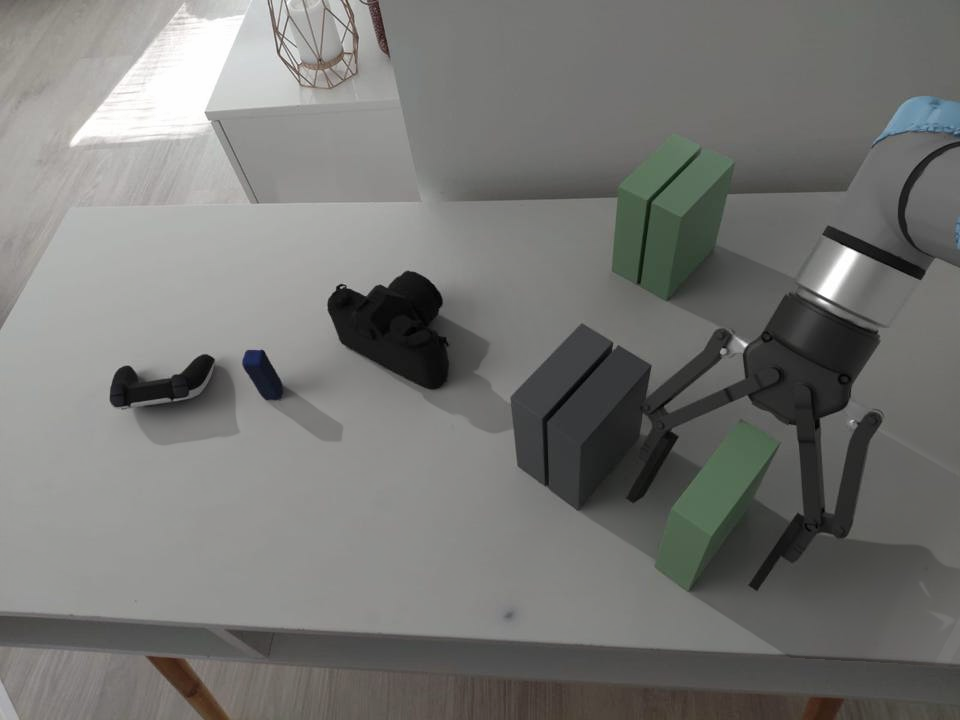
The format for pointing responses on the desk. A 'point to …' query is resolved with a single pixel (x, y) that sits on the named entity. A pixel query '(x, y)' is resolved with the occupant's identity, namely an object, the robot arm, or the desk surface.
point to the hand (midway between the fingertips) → (692, 538)
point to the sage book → (714, 503)
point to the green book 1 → (645, 202)
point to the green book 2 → (685, 223)
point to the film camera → (395, 327)
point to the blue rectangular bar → (262, 374)
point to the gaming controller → (160, 385)
